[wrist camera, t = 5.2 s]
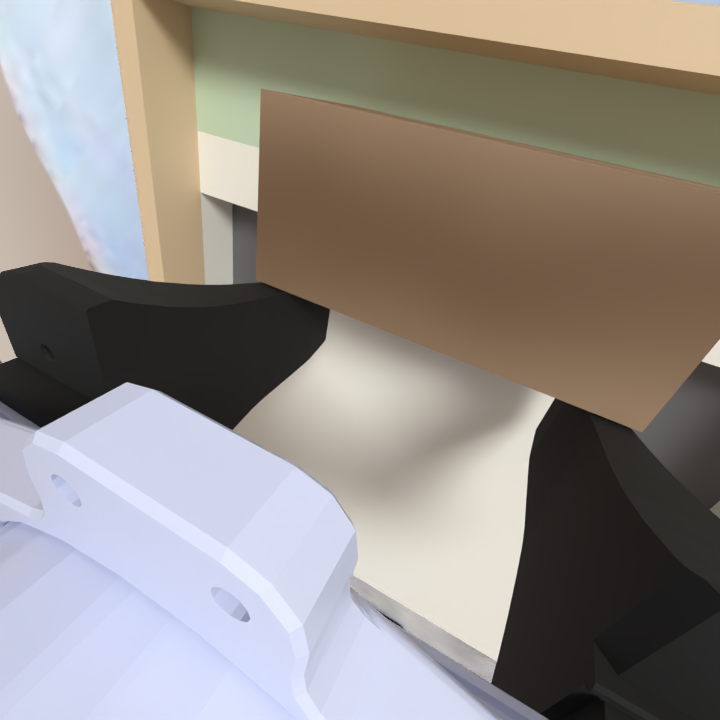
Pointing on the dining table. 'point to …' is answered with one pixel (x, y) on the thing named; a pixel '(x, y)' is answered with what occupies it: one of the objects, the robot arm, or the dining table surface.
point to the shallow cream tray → (373, 345)
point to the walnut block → (493, 251)
